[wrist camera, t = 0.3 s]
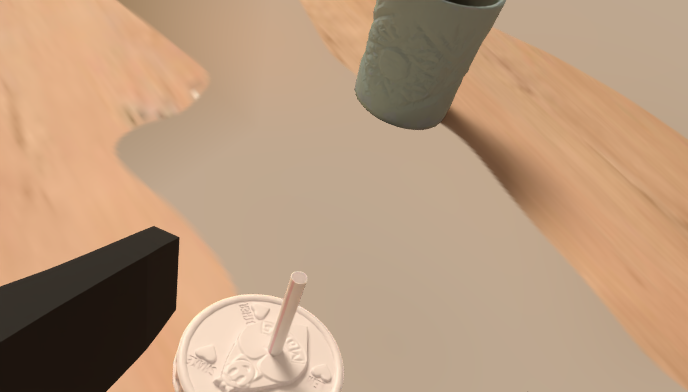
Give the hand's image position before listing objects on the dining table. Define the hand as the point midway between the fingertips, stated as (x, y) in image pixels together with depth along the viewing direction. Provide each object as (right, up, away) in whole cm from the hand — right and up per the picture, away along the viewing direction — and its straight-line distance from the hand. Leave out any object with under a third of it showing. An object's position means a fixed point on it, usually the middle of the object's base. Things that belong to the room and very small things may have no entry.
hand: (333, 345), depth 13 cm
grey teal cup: (+5, +11, +47) cm, 49 cm away
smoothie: (-5, -10, +18) cm, 22 cm away
